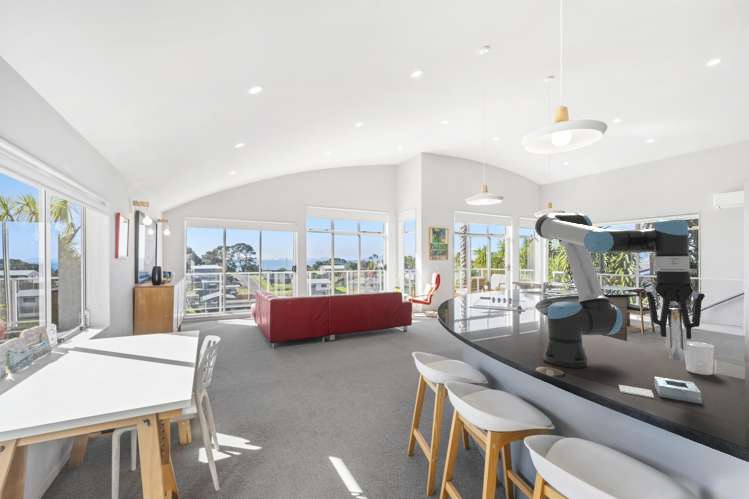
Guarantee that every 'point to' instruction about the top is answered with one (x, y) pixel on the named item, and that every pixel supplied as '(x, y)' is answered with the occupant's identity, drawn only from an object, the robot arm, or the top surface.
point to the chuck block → (677, 390)
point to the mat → (636, 391)
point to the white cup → (699, 358)
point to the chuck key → (675, 334)
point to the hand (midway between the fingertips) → (676, 348)
